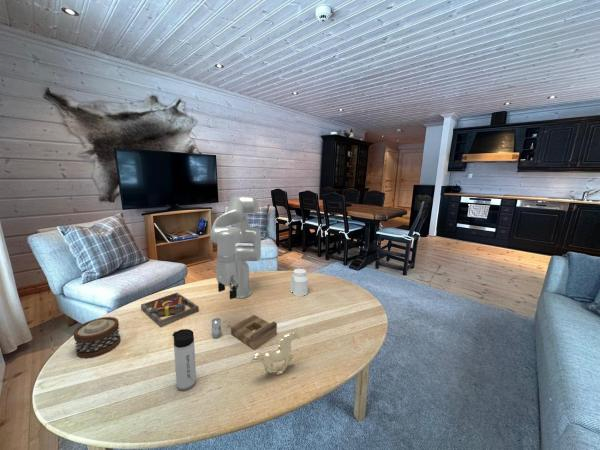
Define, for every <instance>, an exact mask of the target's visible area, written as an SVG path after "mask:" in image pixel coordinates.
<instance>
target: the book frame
mask: <svg viewBox="0 0 600 450" xmlns="http://www.w3.org/2000/svg"><path fill="white" fill-rule="evenodd" d="M174 297H178V298H179V297H184V300H185V301H184V302H185V303H184V305H185V306H186V307H188V309H184V310H185V311H183V312H180V313H178V314H173V315H169V316H167V317H165V318H163V319H162V318H161V317H158V316H157V315H156V314H155V313H150V310H151V308H152V306H153V303H154V301H160V300H162V299H164V300H166V299H172V298H174ZM199 309H200V308H199V306H198V305H197V304H196V303H194V302H193V301H192V300H190V299H188V298H186V297H185V296H183V295H182V294H180V293H179V292H175V293H172V294H168V295H165V296H162V297H159V298H156V299H154V300H151V301H148V302H143V303H141V304H140V310H141V311H142V312H143V313H145V315H147V316H148V317H149V318H150V320H152V321H153V322H154V323H156V325H158V326H159V327H160V328H163V327H165V326H167V325H169V324H172V323H175V322H177V321H180V320H182V319H183V318H184V319H185V318H186V317H189V316H191V315H193V314H196V313H198V312H200V311H199Z"/></svg>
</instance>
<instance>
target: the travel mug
mask: <svg viewBox="0 0 600 450" xmlns="http://www.w3.org/2000/svg"><path fill="white" fill-rule="evenodd" d="M171 335H172V337H173V347H174V348H173V352H174V365H175V366H174V367H175V368H174V369H175V381H176V388H177V390H178V391H181V392H182V391H183V392H184V391H189V390H190V389H191V388H193V387H194V386H195V385H196V383H197V371H196V368H197V367H196V352H195V351H196V349H195V335H194V331H193V330H192V329H189V328H185V329H184V328H181V329H180V330H176V331H174V332H173V333H172V334H171Z"/></svg>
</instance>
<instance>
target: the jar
mask: <svg viewBox="0 0 600 450" xmlns="http://www.w3.org/2000/svg"><path fill="white" fill-rule="evenodd" d="M308 289H309V277H308V275H307V271H306V269H304V268H295V269H293V274H292V275H291V276H290V291H291V292H293V293H292V294H294V295H296V296H303V295H306V294H307V293H309V291H308ZM291 292H290V293H291ZM294 295H293V296H294ZM307 295H308V294H307ZM307 295H306V296H307ZM296 296H295V297H296ZM303 297H304V296H303Z"/></svg>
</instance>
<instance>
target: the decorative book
mask: <svg viewBox="0 0 600 450" xmlns="http://www.w3.org/2000/svg"><path fill="white" fill-rule="evenodd" d="M184 297H185V296H183V297H179V298H178V297H174V298H172V299H166V300H164V299H162V300H160V301H154V303H153V306H152V307H151V308H150V313H155V314H156V315H157V316H158V317H159V318H162V317H170V316H173V315H175V314H178V313H180V312H183V311H185V310H186V309H185V308H186V307H187V305H185V304H184V303H185V302H184V301H185V300H184Z"/></svg>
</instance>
